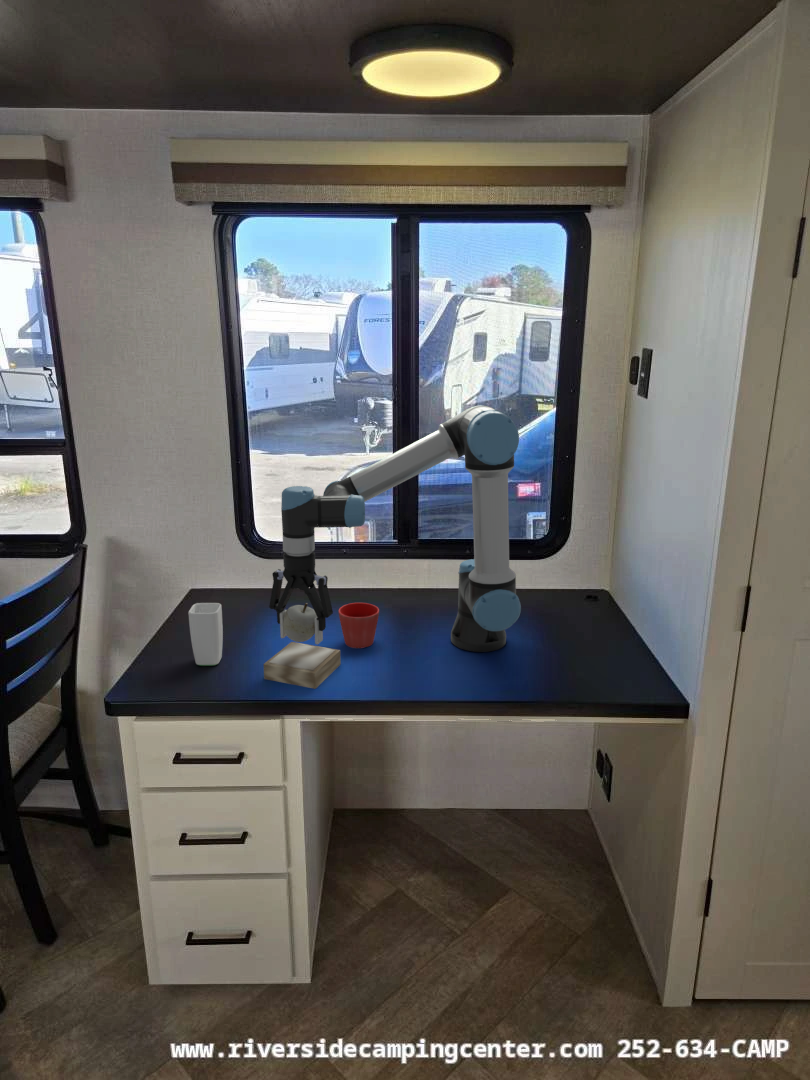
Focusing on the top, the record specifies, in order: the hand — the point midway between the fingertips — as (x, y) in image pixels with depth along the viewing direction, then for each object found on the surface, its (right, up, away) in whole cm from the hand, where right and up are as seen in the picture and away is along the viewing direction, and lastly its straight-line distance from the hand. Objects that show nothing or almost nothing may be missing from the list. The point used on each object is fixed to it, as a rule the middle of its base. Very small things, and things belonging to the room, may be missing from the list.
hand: (301, 638), depth 181 cm
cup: (-25, -7, +7) cm, 27 cm away
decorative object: (0, -1, 0) cm, 1 cm away
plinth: (0, -9, +3) cm, 9 cm away
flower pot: (+13, -4, +20) cm, 24 cm away
